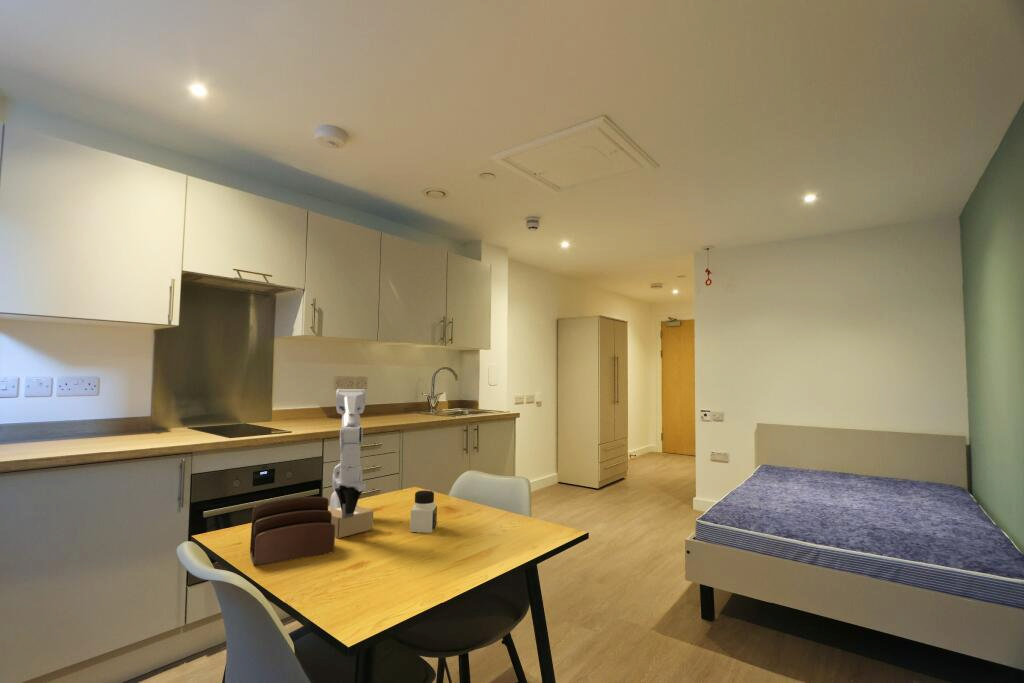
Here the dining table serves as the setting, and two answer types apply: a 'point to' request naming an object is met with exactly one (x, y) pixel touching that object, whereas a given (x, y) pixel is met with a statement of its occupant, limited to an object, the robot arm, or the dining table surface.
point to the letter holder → (291, 529)
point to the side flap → (354, 522)
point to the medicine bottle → (423, 513)
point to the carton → (338, 514)
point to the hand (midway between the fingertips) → (348, 512)
